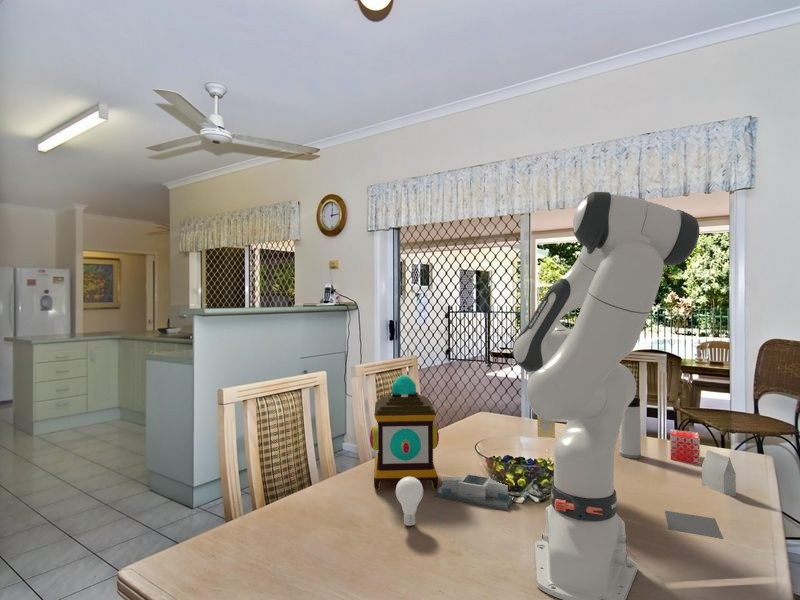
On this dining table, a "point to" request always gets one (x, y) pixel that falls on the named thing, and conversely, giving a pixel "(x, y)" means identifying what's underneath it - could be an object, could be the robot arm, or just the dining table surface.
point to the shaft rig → (475, 491)
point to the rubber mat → (693, 524)
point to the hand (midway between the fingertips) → (545, 427)
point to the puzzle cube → (685, 446)
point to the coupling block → (546, 433)
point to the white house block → (719, 473)
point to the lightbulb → (409, 497)
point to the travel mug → (631, 431)
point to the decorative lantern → (404, 435)
